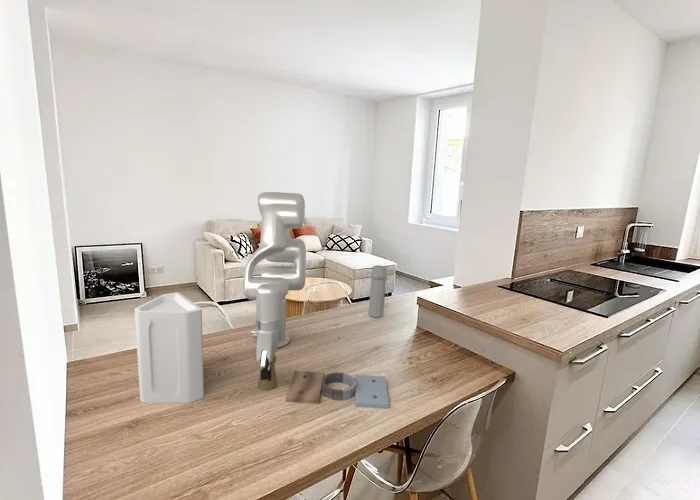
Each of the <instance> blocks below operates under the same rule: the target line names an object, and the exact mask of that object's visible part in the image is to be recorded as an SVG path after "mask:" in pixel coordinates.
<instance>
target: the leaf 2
mask: <svg viewBox="0 0 700 500" xmlns="http://www.w3.org/2000/svg"><path fill="white" fill-rule="evenodd" d="M343 373H344V374H343V384H345V385H348V386H349V387H347V388H344V389H341V390H342V400H341V401H345V400H348V399H352V397H353V396H355V397H354V399H355V400H354V407H361V408H362V407H364V408H373V409H374V408H376V409H379V408H380V409H389V398H388V391H387V384H386V376H382V375H370V374H369V375H366V374H355V377H354V376H352V375H350V374H349V373H345V372H343Z"/></svg>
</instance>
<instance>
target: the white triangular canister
mask: <svg viewBox="0 0 700 500" xmlns="http://www.w3.org/2000/svg"><path fill="white" fill-rule="evenodd" d="M134 321H135V322H134V324H135V335H136V354H137V369H138V370H137V372H138V384H139V385H138V387H139V388H138V389H139V400H140V402H141V403H142V404H188V403H189V404H190V403H192V402H195V401H198V400H201V399H203V398H204V397H205V393H204V392H205V391H204V390H205V389H204V355H203V354H204V352H203V351H204V350H203V346H204V345H203V343H204V342H203V308H201V307H200V306H199V305H197V304H196V303H195V302H193V301H192V300H190V299H189V298H187V297H186V296H185V295H184V294H182V293H180V292H179V291H176V292H171V293H164V294H161V295H160V296H156V298H153V299H151V300H149V301H147V302H145V303H144V304H141V305H139V306H138V307H135V308H134Z"/></svg>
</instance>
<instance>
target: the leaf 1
mask: <svg viewBox="0 0 700 500" xmlns="http://www.w3.org/2000/svg"><path fill="white" fill-rule="evenodd" d="M344 373H345V372H336V371H335V372H332V373H331V372H330V373H327V374H326V375H324V371H323V372H319V371H307V370H294V372H293V375H292V377H291V381H290V385H289V388H288V391H287V393H286V396H285V402H286V403H287V402H288V403H300V404H301V403H303V404H317V405H319V404H320V400H321V399H320V398H321V394H322V395H323V396H324V397H326V398H327V399H329V400H333V401H343V400H342V390H343V389H338V388H337V389H335V388H332V387H330V386H328V385H329V384H334V383H343V374H344ZM343 384H344V383H343Z"/></svg>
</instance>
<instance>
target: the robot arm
mask: <svg viewBox="0 0 700 500" xmlns="http://www.w3.org/2000/svg"><path fill="white" fill-rule="evenodd" d="M305 202H306V201H305V197H304V196H303V194H301V193H296V192H280V191H279V192H278V191H266V192H261V193H260V194H259V195H258V197H257V207H258V211H259V213H260V215H261V221H260V223H261V225H260V243H259V247H258V248H257V249H256V250H255V251H254V252H253V253H252V254H251V256H250V257H249V258H248V260H247V261H246V265H245V268H244V273H243V274H244V276H243V287H242V289H243V295H244V297H245V298H246V299H248V300H250V301H255V306H256V308H255V314H256V315H255V329H252V330H251V331H250V334H251V335H252V338H256V346H255V347H256V349H255V362H257V363H259V362H260V359H261V364H260V369H261V381H263V379H264V380H267V379H268V380H269V381H271V369H270V362H271V361H272V359H273V357H274V355H275V356H276V353H277V351H278V350H277V349H280V348H283V347H285V346H287V345H289V343H290V336H288V335H287V334H286V329H287V326H286V325H287V298H286V296H287V295H288V293H289V291H302V290H303V289H304V288H305V285H306V270H307V269H306V262H307V249H306V248H307V247H306V243H305V242H304V240H303V239H301V238H288V229H302V227H303V226H304V223H305V217H306V216H305V215H306V211H305V208H306V203H305ZM264 260H266V261H267V262H271V263H285V264H287V263H291V264H293V265H294V266H291V265H290V266H289V265H268V266H265V267H263V268H262V269H261V270H260V271H259V272H260V273H259V276H254V271H255V269H256V267H257V265H258V264H259V263H260V262H261V261H264ZM266 359H269V360H266ZM266 362H267V363H268V365H267V364H266ZM275 363H276V362H275ZM275 363H274V365H275Z"/></svg>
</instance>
